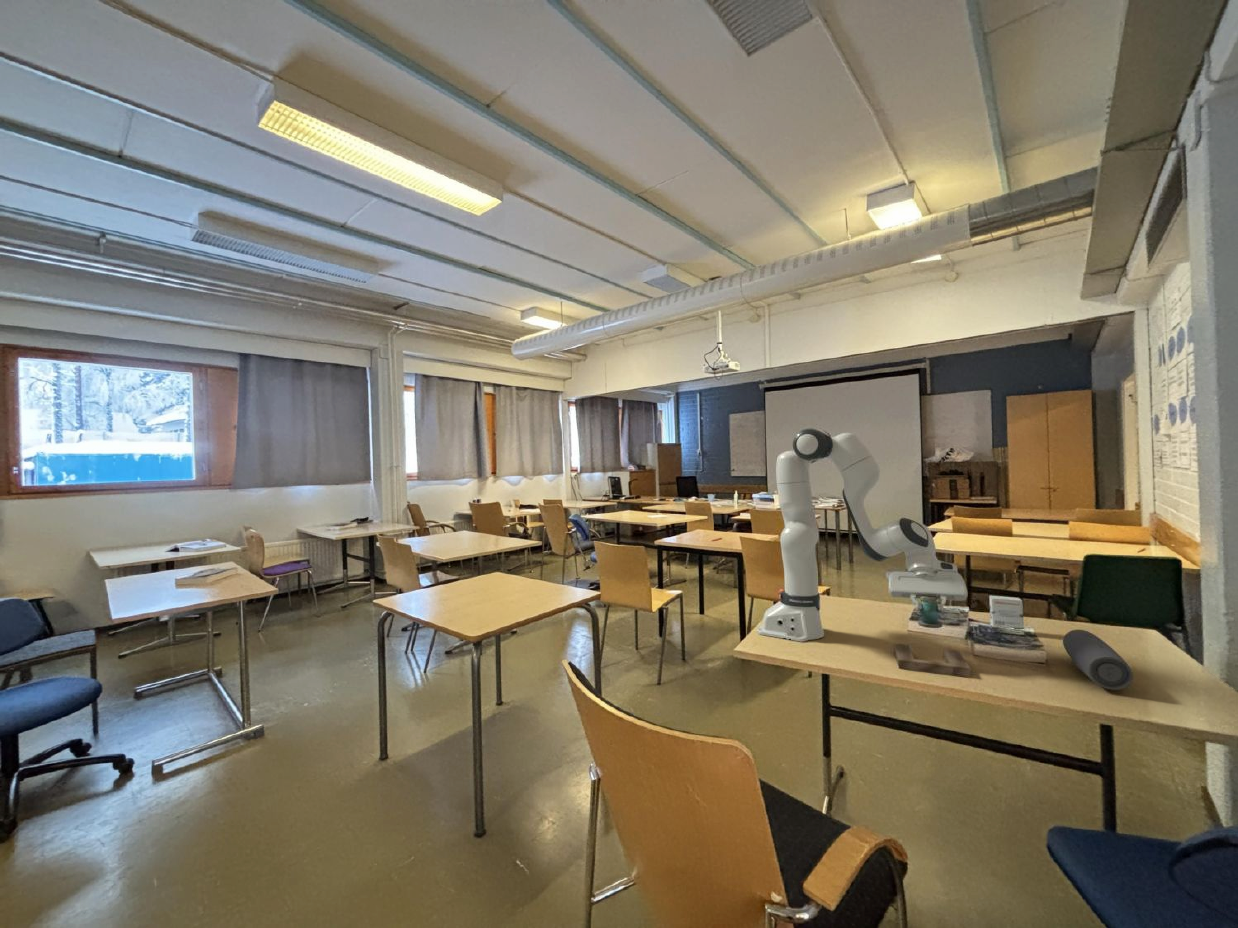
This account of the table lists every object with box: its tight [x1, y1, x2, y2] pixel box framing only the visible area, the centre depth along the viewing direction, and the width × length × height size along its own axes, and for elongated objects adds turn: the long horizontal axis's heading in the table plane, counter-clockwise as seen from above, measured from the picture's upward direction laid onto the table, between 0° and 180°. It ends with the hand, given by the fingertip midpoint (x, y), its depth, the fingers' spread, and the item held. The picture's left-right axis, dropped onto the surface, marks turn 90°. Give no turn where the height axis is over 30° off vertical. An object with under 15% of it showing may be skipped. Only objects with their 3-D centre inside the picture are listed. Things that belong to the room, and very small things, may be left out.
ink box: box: [989, 595, 1025, 630], centre depth 169 cm, size 9×5×12 cm, turn 61°
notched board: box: [893, 643, 971, 678], centre depth 145 cm, size 17×14×2 cm
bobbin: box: [917, 596, 943, 629], centre depth 146 cm, size 6×6×8 cm
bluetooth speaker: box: [1062, 629, 1134, 691], centre depth 133 cm, size 23×9×10 cm, turn 151°
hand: (929, 610), depth 145 cm, fingers closed on bobbin, 4 cm apart
